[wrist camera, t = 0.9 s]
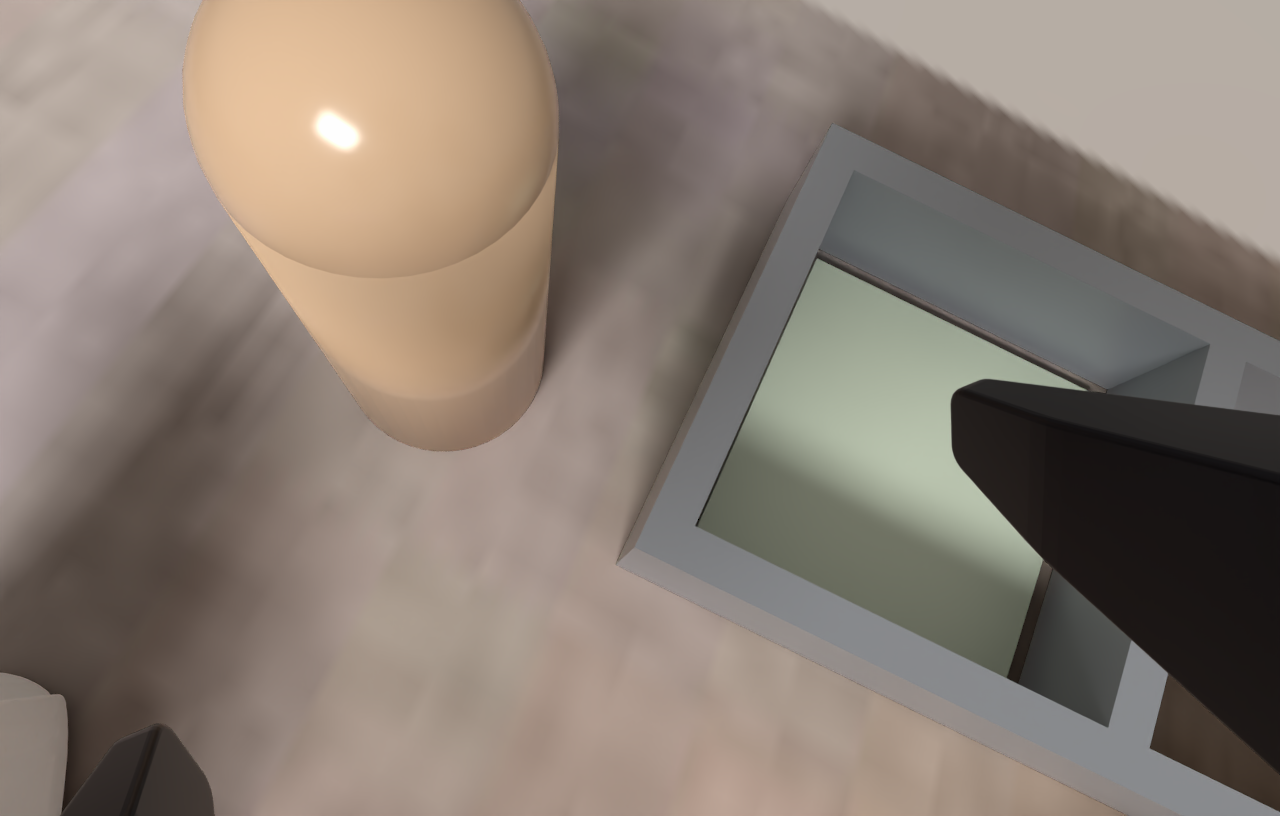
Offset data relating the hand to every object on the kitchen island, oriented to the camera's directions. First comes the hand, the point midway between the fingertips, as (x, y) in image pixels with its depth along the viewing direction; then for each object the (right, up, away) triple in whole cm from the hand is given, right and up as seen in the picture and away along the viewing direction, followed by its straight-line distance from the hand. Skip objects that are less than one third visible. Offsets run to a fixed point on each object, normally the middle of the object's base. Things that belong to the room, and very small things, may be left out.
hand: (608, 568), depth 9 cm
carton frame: (+13, -2, +15) cm, 19 cm away
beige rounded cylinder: (-5, +3, +14) cm, 15 cm away
